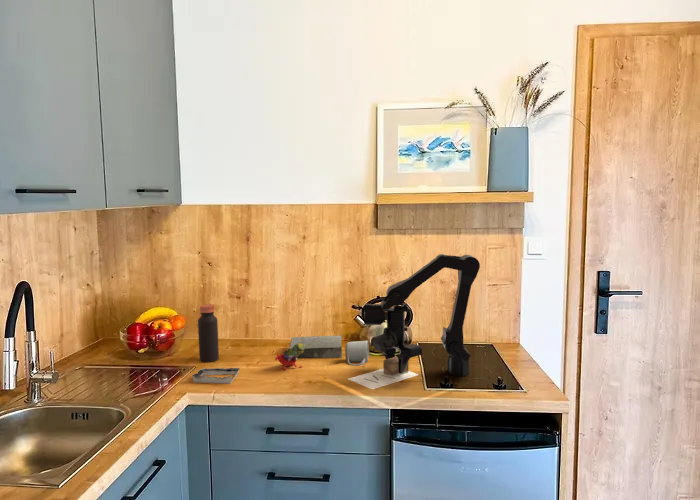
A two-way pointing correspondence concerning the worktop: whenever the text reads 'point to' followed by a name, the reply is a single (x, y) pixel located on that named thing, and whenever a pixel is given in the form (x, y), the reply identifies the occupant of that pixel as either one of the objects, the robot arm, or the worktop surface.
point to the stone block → (319, 346)
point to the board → (379, 379)
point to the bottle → (208, 334)
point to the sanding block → (392, 367)
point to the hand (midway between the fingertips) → (395, 371)
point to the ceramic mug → (357, 352)
